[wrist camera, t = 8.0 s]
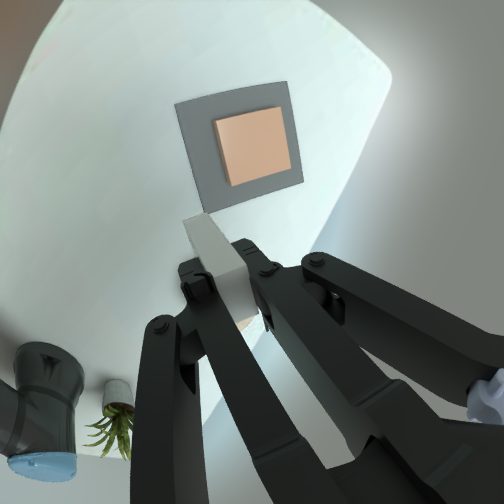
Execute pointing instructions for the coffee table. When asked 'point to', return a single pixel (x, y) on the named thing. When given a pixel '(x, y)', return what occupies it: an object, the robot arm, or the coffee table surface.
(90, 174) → the coffee table surface
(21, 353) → the robot arm
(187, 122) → the mat
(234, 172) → the tile
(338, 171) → the coffee table surface
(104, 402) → the house plant
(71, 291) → the coffee table surface
